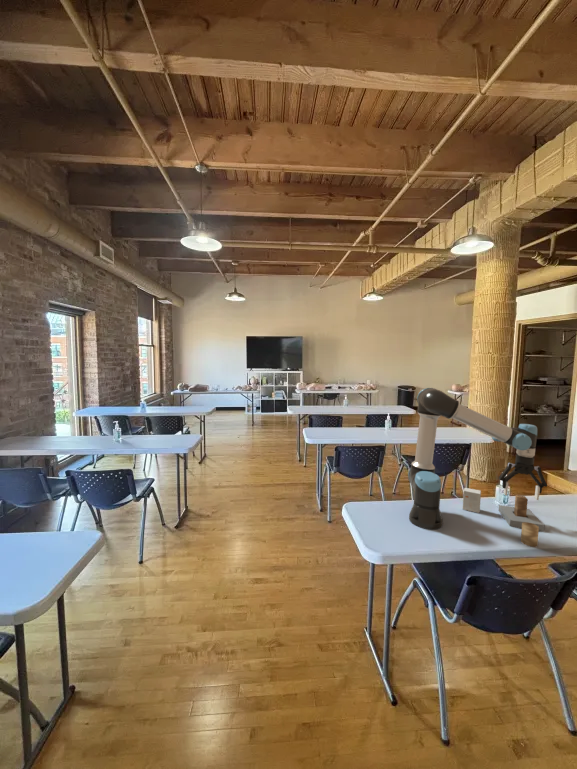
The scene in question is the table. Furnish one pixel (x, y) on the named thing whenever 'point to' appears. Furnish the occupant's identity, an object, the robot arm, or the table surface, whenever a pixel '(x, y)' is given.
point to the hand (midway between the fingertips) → (520, 496)
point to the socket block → (517, 520)
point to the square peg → (520, 506)
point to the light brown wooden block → (529, 534)
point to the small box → (471, 500)
